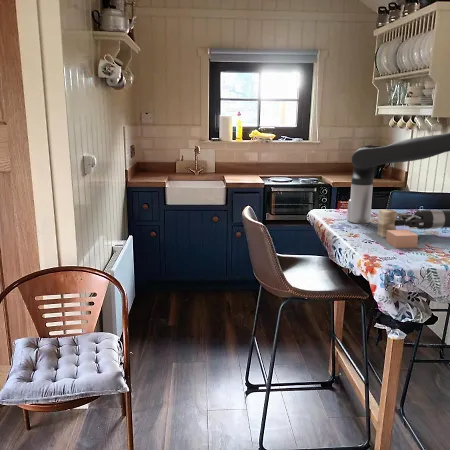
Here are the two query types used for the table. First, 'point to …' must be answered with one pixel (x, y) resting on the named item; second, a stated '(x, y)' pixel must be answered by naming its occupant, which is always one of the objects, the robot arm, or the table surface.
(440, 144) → the robot arm
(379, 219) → the pillar
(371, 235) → the build mat
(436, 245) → the table surface
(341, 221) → the table surface
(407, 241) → the base block
